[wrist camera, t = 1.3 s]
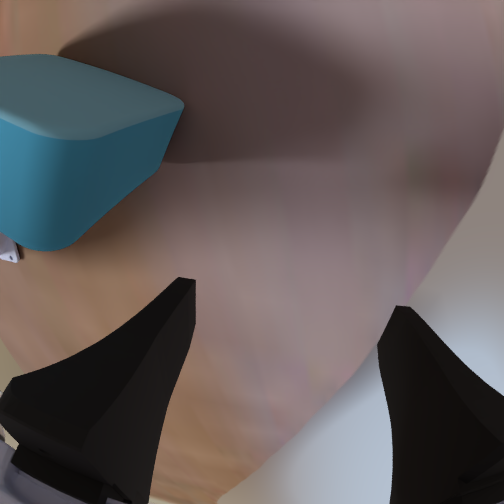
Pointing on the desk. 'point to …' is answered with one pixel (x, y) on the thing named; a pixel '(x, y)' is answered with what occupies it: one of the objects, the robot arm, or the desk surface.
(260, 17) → the desk surface
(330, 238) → the desk surface
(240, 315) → the desk surface
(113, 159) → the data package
